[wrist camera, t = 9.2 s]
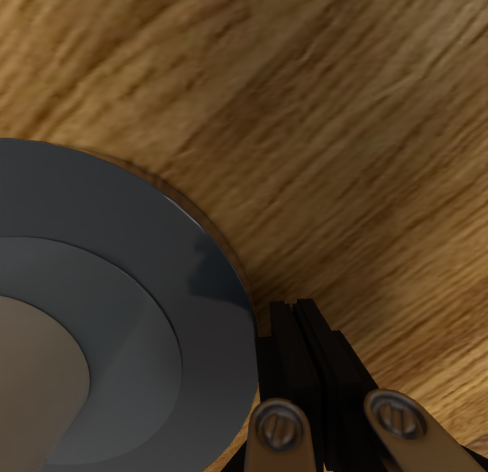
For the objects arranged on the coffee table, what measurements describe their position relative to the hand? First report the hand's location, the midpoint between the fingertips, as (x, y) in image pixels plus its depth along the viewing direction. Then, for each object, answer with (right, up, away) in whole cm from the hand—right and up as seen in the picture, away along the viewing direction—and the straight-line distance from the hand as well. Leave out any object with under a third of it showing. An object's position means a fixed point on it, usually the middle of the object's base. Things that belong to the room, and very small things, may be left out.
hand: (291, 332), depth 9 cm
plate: (-9, -1, +1) cm, 9 cm away
